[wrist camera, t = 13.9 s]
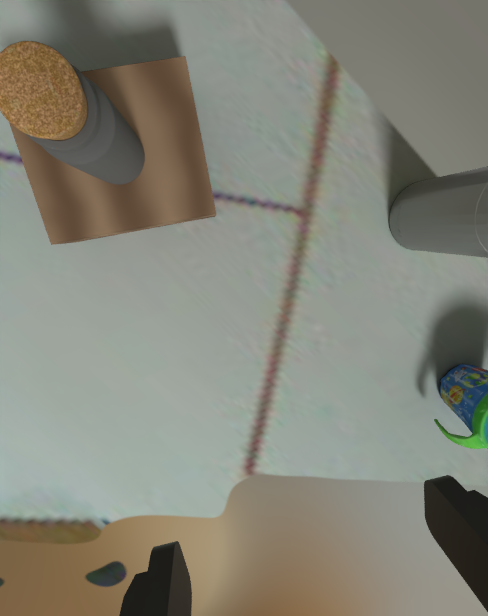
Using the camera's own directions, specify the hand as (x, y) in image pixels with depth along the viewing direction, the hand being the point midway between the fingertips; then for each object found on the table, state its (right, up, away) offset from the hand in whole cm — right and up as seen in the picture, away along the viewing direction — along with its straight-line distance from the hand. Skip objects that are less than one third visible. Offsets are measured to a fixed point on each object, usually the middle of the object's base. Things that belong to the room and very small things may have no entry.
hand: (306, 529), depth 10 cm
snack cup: (+33, -5, +41) cm, 53 cm away
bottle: (-15, +23, +22) cm, 35 cm away
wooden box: (-16, +24, +27) cm, 40 cm away
